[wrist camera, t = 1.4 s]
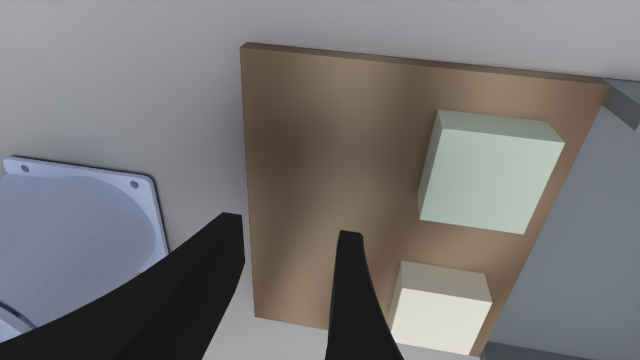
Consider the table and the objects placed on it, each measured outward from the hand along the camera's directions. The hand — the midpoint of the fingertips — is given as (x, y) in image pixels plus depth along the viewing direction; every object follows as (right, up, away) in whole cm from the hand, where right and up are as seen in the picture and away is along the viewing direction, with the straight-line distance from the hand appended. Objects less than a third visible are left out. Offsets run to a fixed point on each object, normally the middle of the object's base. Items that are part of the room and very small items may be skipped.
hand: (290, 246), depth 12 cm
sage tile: (+8, +3, +5) cm, 10 cm away
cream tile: (+8, -5, +10) cm, 14 cm away
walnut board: (+5, 0, +9) cm, 10 cm away
